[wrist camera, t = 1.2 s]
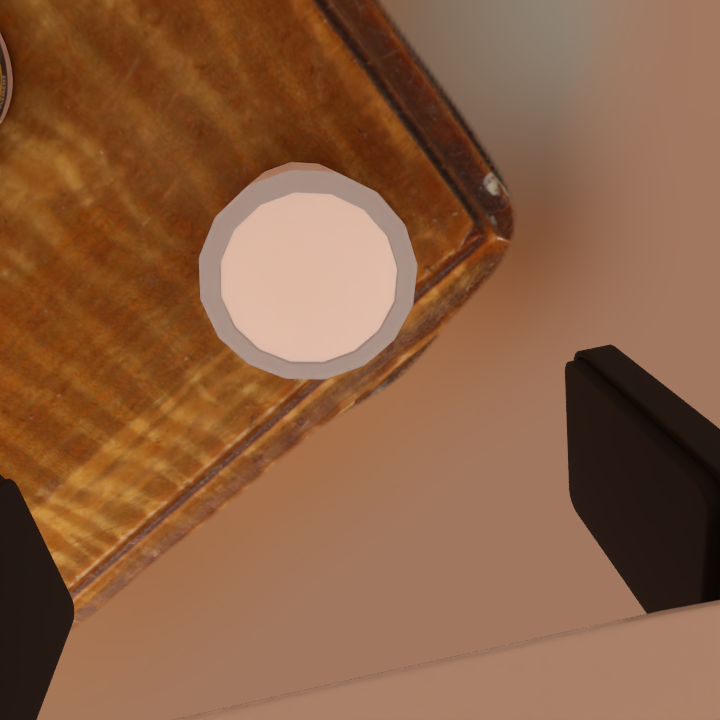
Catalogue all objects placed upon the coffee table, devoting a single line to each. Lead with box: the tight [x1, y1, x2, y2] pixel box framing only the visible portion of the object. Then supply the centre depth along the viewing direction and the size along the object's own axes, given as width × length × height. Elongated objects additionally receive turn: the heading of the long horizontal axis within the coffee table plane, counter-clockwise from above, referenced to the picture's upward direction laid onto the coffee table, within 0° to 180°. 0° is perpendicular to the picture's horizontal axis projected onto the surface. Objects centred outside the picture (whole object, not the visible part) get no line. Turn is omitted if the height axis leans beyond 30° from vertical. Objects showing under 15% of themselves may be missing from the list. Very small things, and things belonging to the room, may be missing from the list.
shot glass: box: [199, 162, 417, 379], centre depth 23 cm, size 7×7×7 cm
